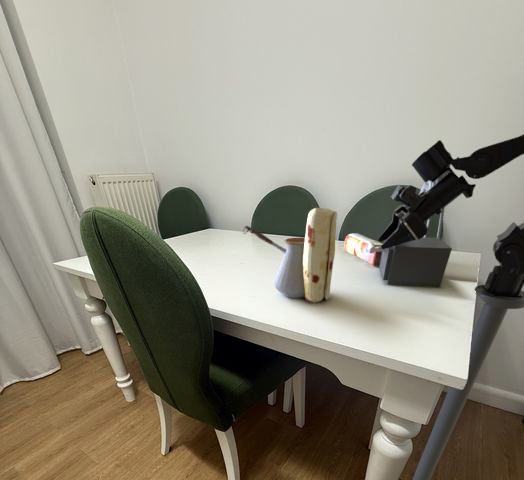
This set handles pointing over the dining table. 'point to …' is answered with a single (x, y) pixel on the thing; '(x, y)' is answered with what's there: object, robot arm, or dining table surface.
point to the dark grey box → (419, 263)
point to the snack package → (362, 248)
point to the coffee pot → (288, 266)
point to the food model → (319, 253)
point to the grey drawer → (383, 259)
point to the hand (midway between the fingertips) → (380, 244)
